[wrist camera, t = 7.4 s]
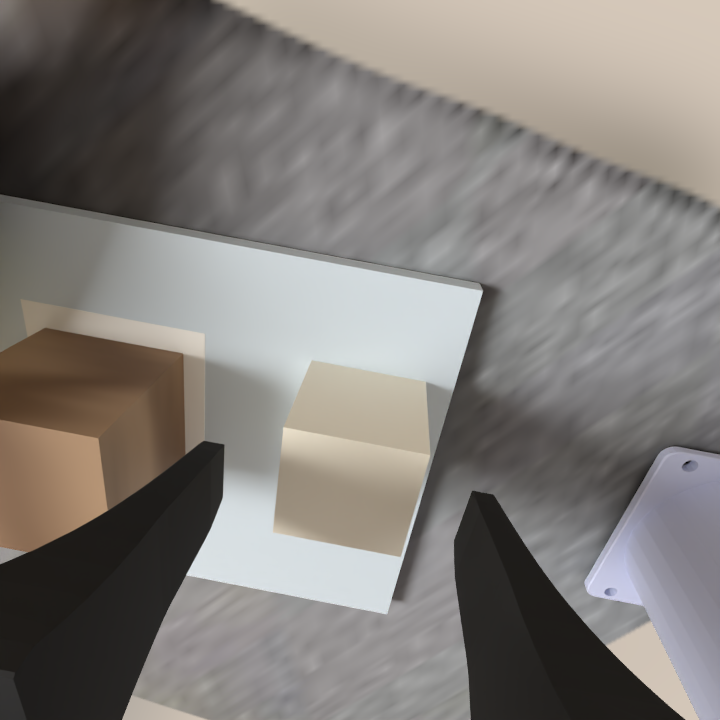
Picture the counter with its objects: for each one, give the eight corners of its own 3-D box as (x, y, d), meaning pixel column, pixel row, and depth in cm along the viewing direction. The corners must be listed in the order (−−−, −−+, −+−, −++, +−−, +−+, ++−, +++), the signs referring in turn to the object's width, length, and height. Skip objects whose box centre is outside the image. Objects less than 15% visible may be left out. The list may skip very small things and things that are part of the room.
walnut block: (183, 353, 16) (98, 438, 12) (185, 463, 19) (115, 568, 14) (44, 327, 16) (-92, 402, 12) (64, 440, 19) (-44, 538, 14)
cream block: (425, 381, 16) (430, 455, 12) (402, 470, 18) (400, 556, 14) (311, 360, 16) (283, 427, 12) (300, 451, 18) (272, 532, 14)
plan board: (479, 283, 15) (483, 291, 14) (387, 598, 22) (387, 614, 22) (-60, 183, 15) (-84, 186, 14) (24, 528, 23) (11, 541, 22)
